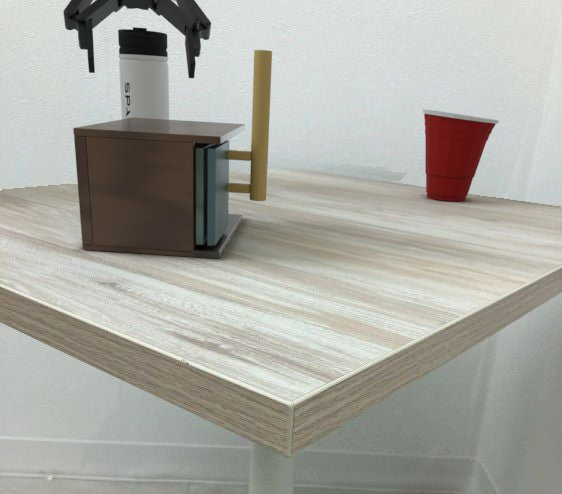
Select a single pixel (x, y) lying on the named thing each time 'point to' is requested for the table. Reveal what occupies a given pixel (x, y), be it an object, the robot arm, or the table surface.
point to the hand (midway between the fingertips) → (142, 68)
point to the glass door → (241, 155)
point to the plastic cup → (453, 152)
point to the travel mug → (143, 74)
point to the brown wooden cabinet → (149, 186)
